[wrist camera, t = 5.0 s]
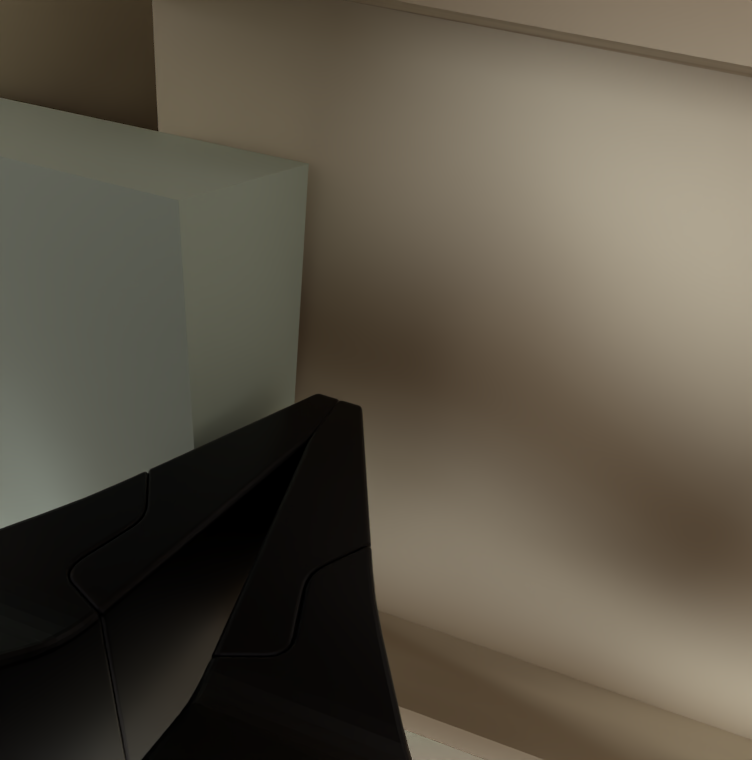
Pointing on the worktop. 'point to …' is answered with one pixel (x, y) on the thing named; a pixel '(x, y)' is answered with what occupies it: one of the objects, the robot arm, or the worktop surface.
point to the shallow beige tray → (523, 340)
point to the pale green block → (136, 299)
